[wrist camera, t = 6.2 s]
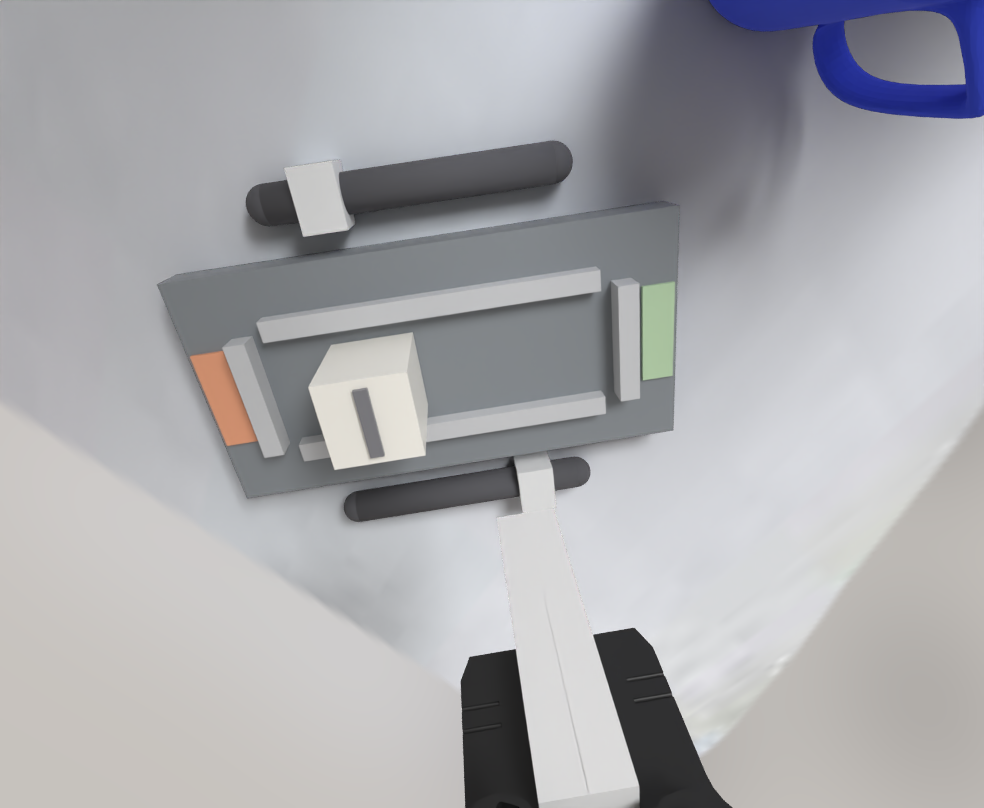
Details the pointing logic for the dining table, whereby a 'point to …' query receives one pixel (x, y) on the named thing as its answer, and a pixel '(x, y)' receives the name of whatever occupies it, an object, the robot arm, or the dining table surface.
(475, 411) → the panel
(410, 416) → the toggle
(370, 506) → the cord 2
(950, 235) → the dining table surface
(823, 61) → the mug
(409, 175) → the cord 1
